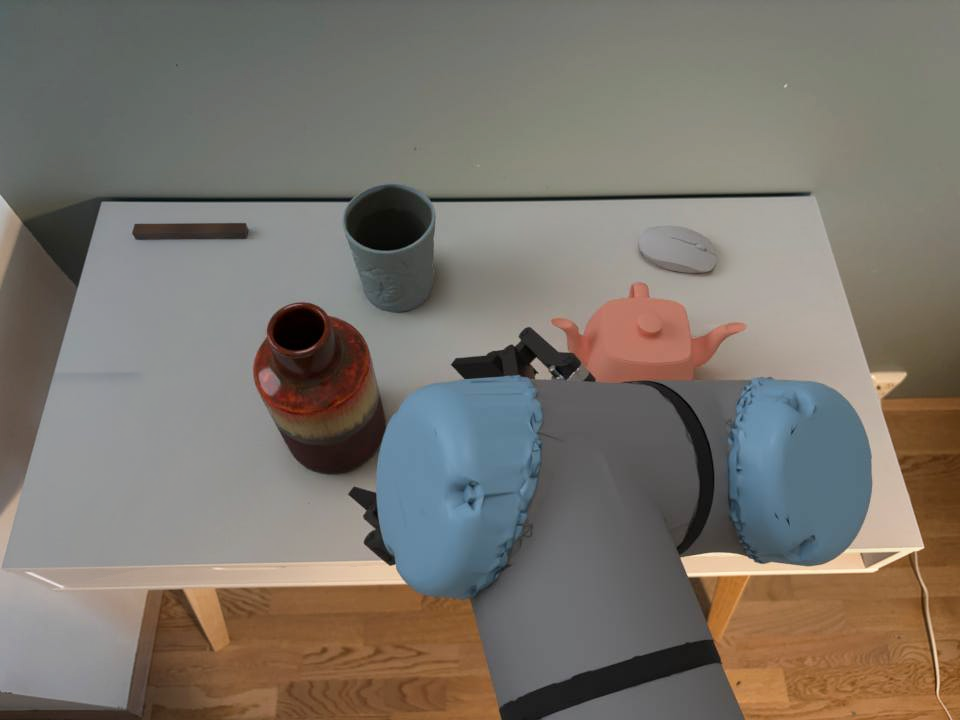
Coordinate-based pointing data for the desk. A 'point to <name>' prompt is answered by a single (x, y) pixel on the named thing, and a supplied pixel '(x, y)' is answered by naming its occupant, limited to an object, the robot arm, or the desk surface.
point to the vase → (320, 389)
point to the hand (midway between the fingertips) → (415, 433)
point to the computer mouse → (678, 249)
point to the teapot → (642, 340)
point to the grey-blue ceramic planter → (392, 244)
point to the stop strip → (190, 231)
